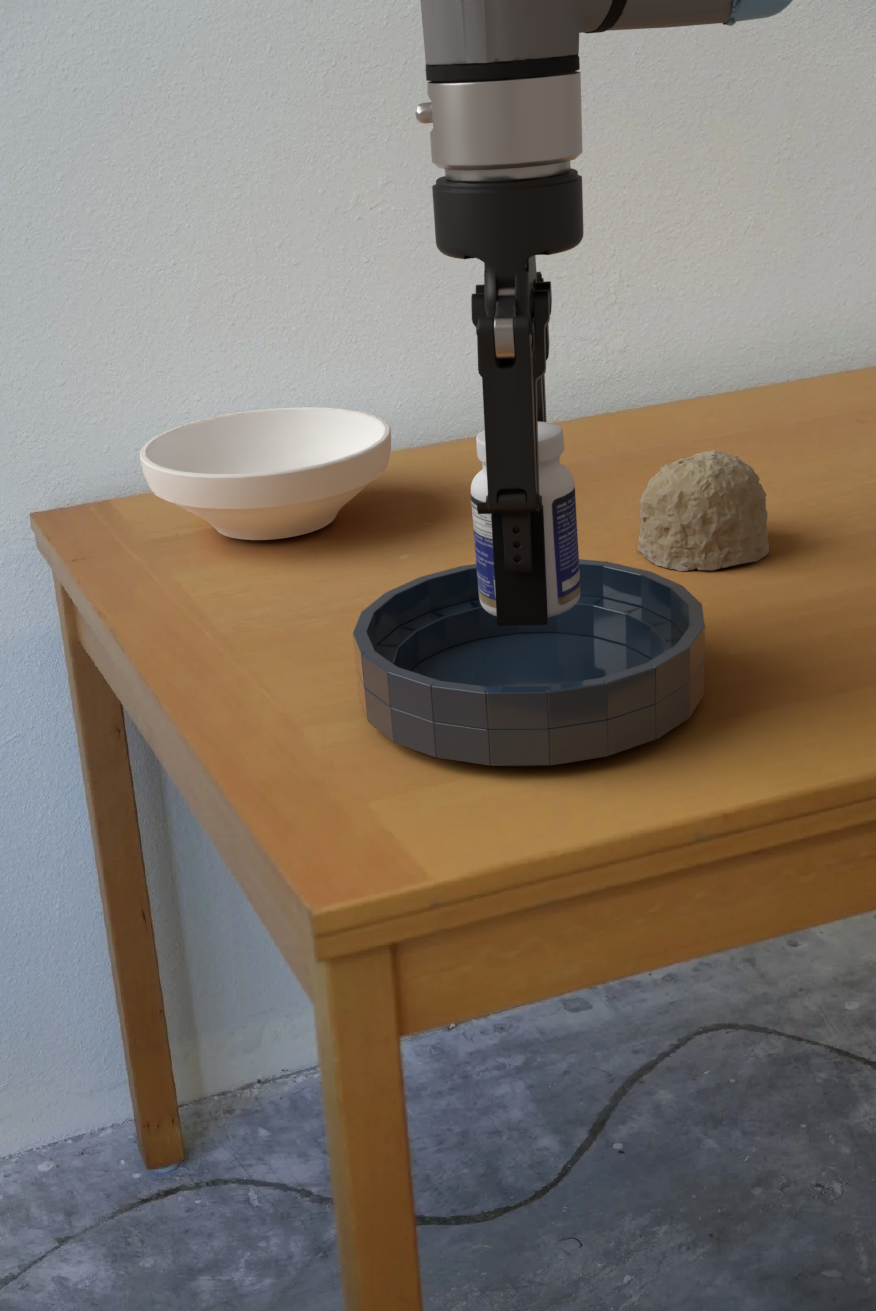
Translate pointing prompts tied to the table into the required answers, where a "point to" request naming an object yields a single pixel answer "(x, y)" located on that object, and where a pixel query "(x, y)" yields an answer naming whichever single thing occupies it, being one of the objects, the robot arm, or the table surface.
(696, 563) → the beige rock
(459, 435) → the table surface
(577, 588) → the pill bottle
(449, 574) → the blue bowl
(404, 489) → the table surface
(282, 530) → the bowl
